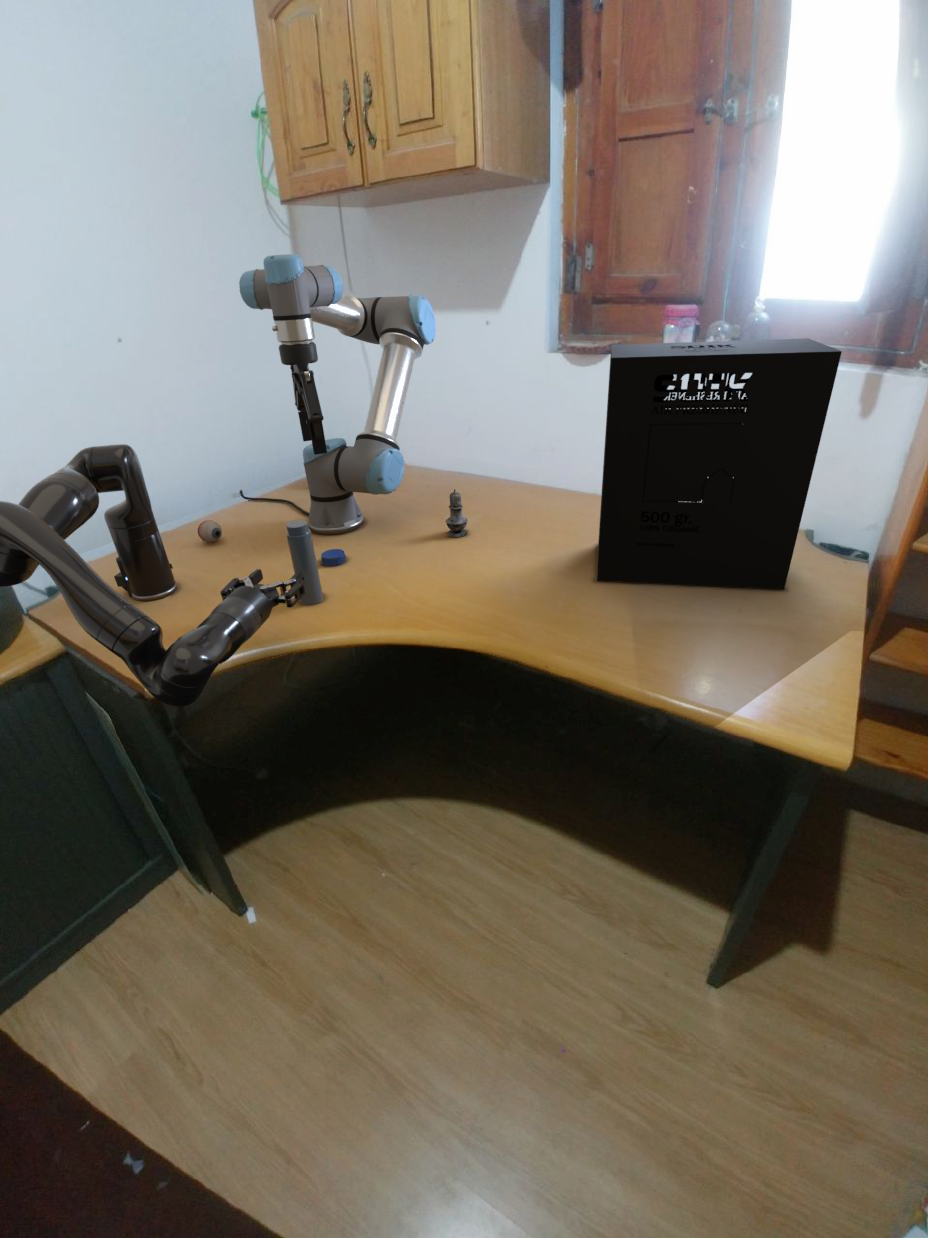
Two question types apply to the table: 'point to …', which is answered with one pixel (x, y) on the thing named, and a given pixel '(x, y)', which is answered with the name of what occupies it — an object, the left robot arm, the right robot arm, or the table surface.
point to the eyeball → (209, 531)
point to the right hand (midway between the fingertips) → (314, 446)
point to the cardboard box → (710, 460)
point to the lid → (333, 557)
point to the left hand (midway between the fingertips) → (280, 574)
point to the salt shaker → (456, 516)
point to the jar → (304, 560)
